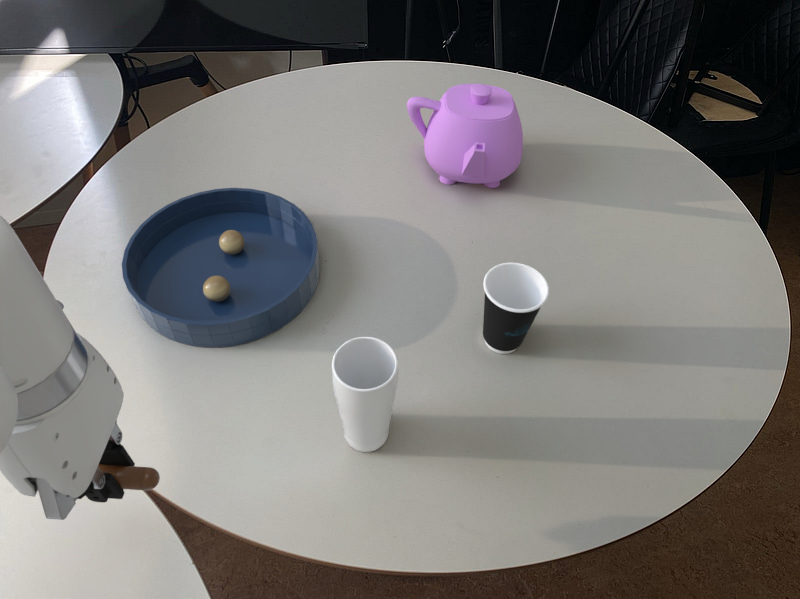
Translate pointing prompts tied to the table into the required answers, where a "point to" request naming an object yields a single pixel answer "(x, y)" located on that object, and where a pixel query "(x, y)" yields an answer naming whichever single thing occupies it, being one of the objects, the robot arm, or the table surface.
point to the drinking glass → (365, 390)
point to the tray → (222, 267)
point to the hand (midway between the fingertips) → (112, 480)
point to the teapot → (471, 134)
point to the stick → (133, 476)
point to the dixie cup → (511, 304)
